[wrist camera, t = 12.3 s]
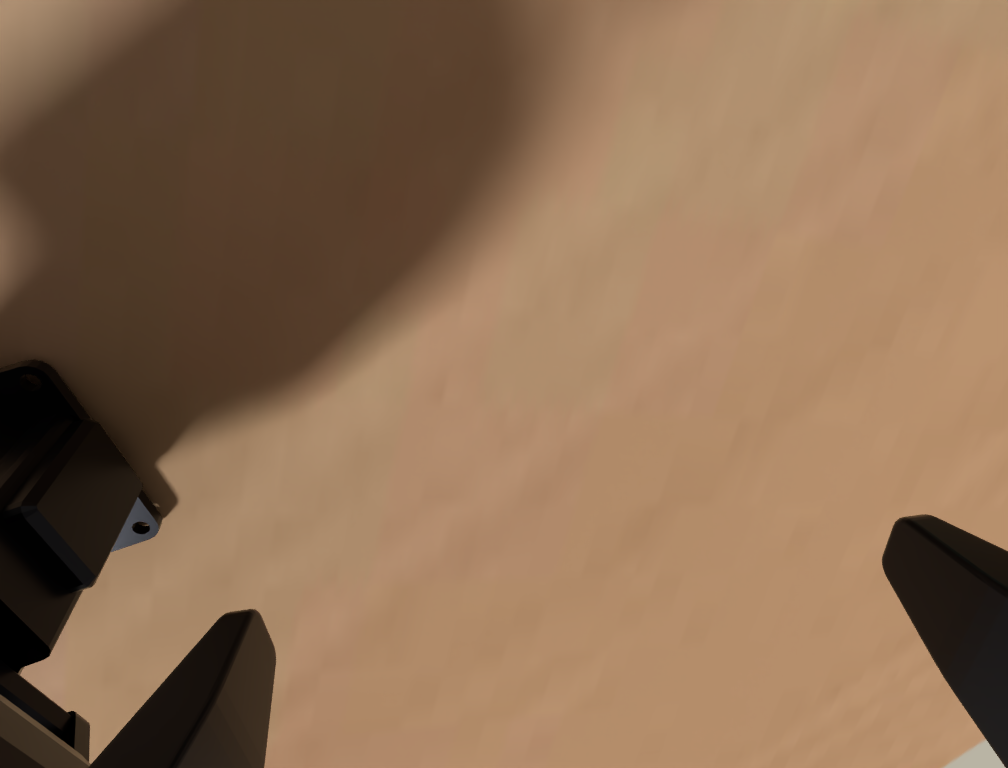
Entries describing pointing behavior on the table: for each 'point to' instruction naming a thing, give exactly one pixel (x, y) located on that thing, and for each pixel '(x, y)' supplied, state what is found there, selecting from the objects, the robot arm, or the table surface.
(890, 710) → the table surface
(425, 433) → the table surface
